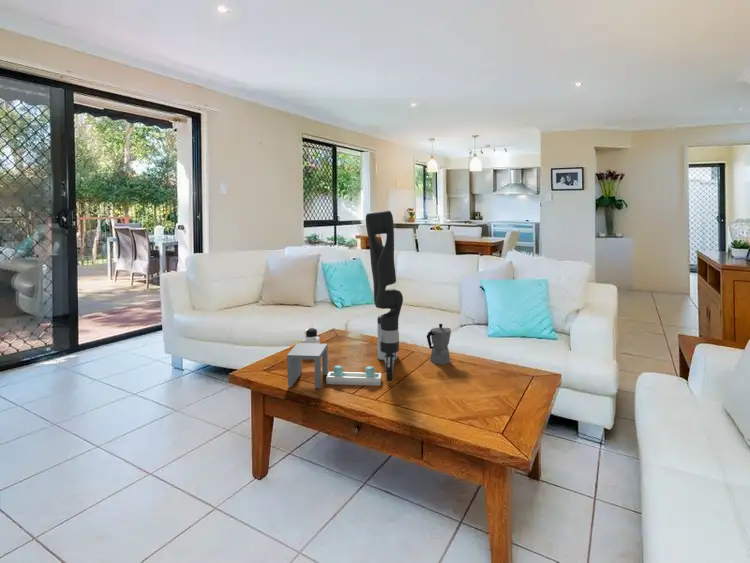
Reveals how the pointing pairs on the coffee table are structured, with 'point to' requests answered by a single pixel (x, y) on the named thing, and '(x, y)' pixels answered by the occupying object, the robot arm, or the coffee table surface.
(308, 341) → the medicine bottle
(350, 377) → the tray
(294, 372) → the grey stand
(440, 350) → the coffeepot
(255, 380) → the coffee table surface
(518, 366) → the coffee table surface
